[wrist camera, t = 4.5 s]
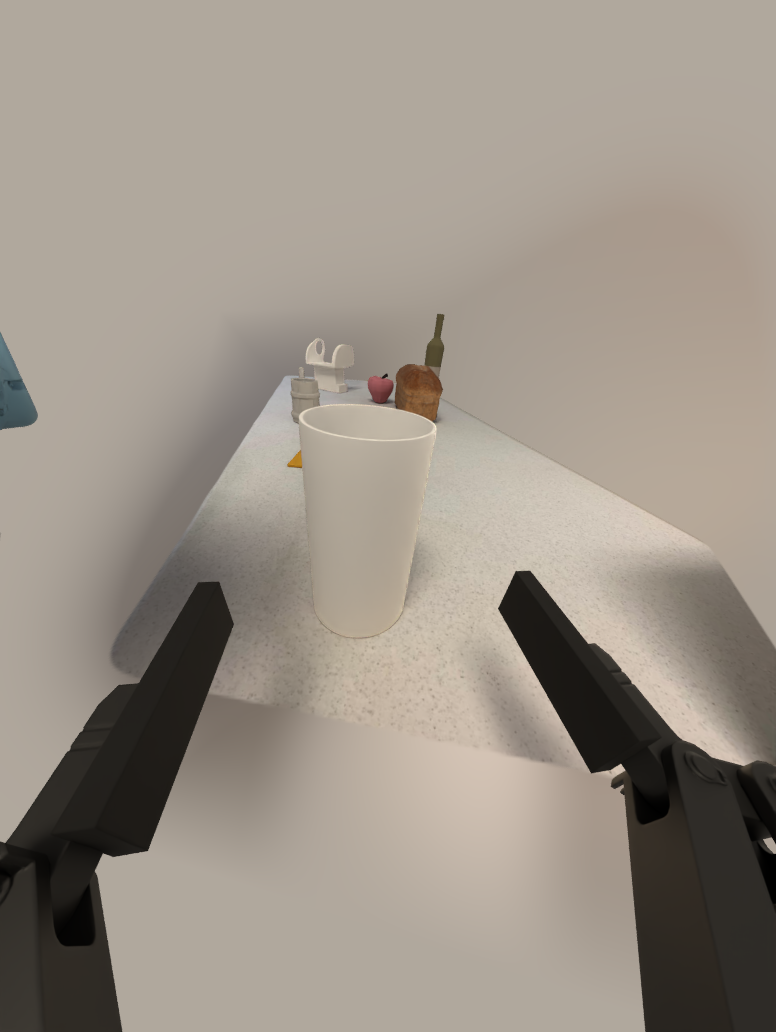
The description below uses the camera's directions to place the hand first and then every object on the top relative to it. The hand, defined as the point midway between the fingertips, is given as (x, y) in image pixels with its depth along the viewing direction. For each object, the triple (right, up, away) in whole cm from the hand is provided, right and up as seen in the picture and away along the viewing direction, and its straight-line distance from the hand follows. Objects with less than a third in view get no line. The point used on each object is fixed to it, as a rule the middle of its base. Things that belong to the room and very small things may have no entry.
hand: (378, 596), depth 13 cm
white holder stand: (-24, +57, +104) cm, 121 cm away
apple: (-3, +46, +90) cm, 101 cm away
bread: (+9, +38, +79) cm, 88 cm away
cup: (-2, -4, +13) cm, 13 cm away
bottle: (+18, +56, +109) cm, 124 cm away
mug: (-22, +30, +62) cm, 72 cm away
